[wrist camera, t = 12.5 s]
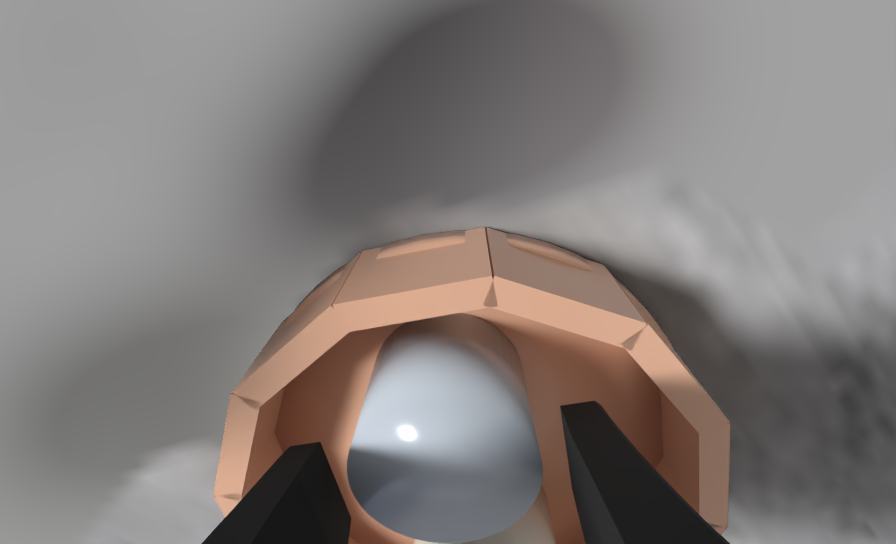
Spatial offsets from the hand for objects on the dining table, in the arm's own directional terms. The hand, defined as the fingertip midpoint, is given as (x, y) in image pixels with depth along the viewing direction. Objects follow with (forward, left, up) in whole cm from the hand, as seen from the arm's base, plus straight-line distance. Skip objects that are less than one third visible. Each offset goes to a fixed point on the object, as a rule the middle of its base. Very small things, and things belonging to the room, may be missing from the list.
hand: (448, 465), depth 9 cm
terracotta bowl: (0, -2, -4) cm, 4 cm away
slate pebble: (0, 0, -3) cm, 3 cm away
